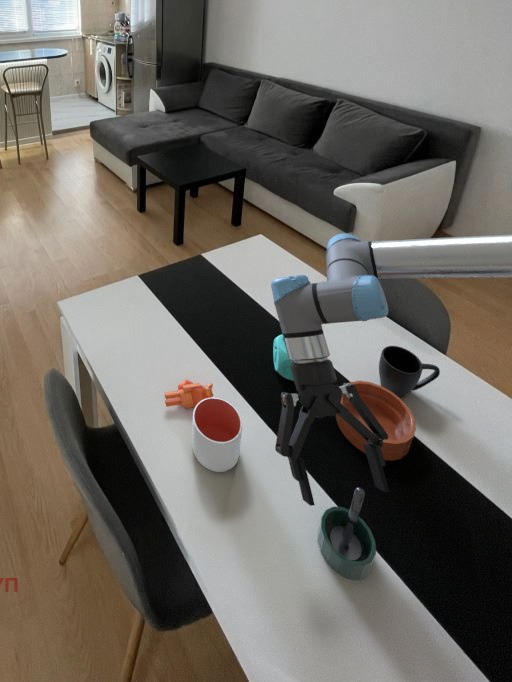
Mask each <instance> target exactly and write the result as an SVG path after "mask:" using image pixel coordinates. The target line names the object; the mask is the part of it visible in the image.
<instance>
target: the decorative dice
mask: <svg viewBox="0 0 512 682" xmlns="http://www.w3.org/2000/svg"><path fill="white" fill-rule="evenodd" d="M272 346H273V347H272V350H273V351H272V355H273V357H272V358H273V364H274V365H273V366H274V370H275V371H276V372H277V374H279V375H280V376H281V377H283V378H285V379H286V380H289V381H293V382H294V379H293V375H292V371H291V367H290V365H291V363H292V362H293V361H292V360H290V359H289V358H288V354H287V350H286V346H285V342H284V337H283V333H282V334H280V335H278V336H276V337H275V338H274V340H273V345H272Z"/></svg>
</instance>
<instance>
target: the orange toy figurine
mask: <svg viewBox="0 0 512 682" xmlns="http://www.w3.org/2000/svg"><path fill="white" fill-rule="evenodd" d="M212 389H213V383H212V382H211V383H209V384H207V385H203V384H202V383H201V382H192V381H191V380H188V379H183V380H182V382H179V384H178V385H177V390H174V391H173V390H172V391H166V392H164V398H165V400H164V404H165V407H166V408H168V407H174V406H181V407H184V409H191V408H195V407H196V405H197V404H198V403H199V402H200V401H202V400H204V399H207V398H214V393H213V390H212Z"/></svg>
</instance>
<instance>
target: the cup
mask: <svg viewBox="0 0 512 682" xmlns="http://www.w3.org/2000/svg"><path fill="white" fill-rule="evenodd" d="M191 429H192V430H191V433H192V434H191V448H192V451H193V455H194V457H195V458H196V460H197V462H199V464H200V465H201V466H203V467H204V468H206V469H207V470H209V471H212V472H216V473H225V472H227V471H231V469H232V468H234V467H235V466H236V464H237V462H238V460H239V459H240V458H239V457H240V451H241V450H240V449H241V443H242V441H241V440H242V431H243V422H242V418H241V415H240V412H239V411H238V409H236V407H235V406H234V405H233V404H232V403H230V402H228V401H227V400H225V399H224V398H223V399H222V398H219V397H212V398H207V399H204V400H202V401H200V402H199V403H198V404H197V405H196V407H194V408H193V412H192V428H191Z"/></svg>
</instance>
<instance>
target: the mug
mask: <svg viewBox="0 0 512 682" xmlns="http://www.w3.org/2000/svg"><path fill="white" fill-rule="evenodd" d="M423 370H431V371H433V372H432V373H430V374H429V375H428V376H427V377H425V378H423V379H422V380H420V379H421V376H422V373H423ZM440 374H441V370H440V368H439V366H438V365H435V364H431V363H422V361H421V360H420V358H419V357H418V356H417V355H416V354H415V353H413V352H412V351H411V350H408V349H407V348H405V347H401V346H398V345H388V346H385V347H383V349H382V350H381V353H380V356H379V361H378V376H379V381H380V382H379V383H380V386H382V387H384V388H386V389H388V390H389V391H391V392H393V393H394V394H395V395H396V396H398V397H399V398H400V399H404V398H406V397H407V395H409V394H411V392H412V391H417V390H420V389H422V388H423V387H425V386H427V385H428V384H430V383H432V382H434V380H436V379H438V378H439V376H440Z"/></svg>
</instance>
